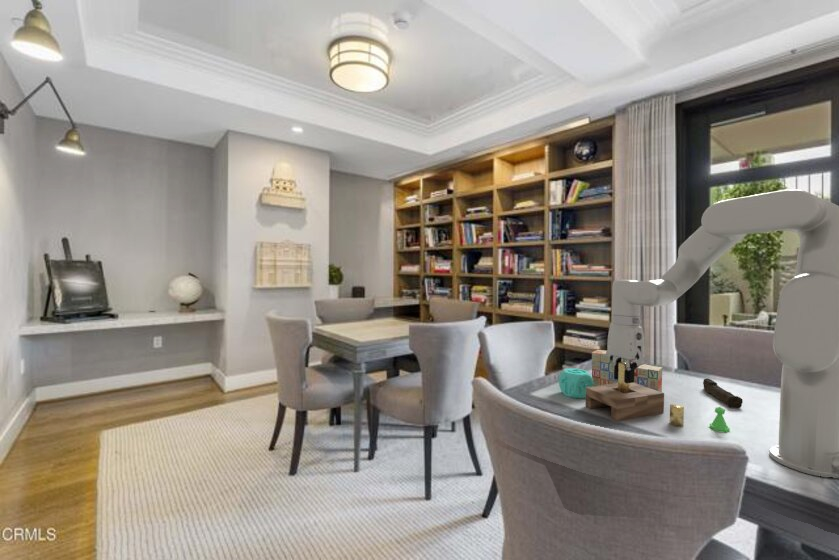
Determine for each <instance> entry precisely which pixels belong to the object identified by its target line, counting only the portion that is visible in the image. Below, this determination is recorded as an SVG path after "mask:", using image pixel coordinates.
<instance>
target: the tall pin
mask: <svg viewBox="0 0 839 560" xmlns="http://www.w3.org/2000/svg"><path fill="white" fill-rule="evenodd" d="M625 370H627V368H626V362H618V391H619V392H622V393H629V390H630V383H625V382H624V377H625Z"/></svg>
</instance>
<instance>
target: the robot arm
mask: <svg viewBox="0 0 839 560" xmlns="http://www.w3.org/2000/svg"><path fill="white" fill-rule="evenodd" d="M700 222H701V225H700V226H699V227H698V228H697V229H696V231H694V232H693V233H692V234H691V235H690V236H689V237H688V238H687V239H686V240H685V241H684V242H682V243H681V244H680V245H679V247H678V253H677V259H676V261H675V262H674V264H673V265H672V266H671V267H670V268H669V269H668V270H667V271H666V272H665V273H664V274H663V275H662V276H661V277H659V278H658V279H651V280H650V279H649V280H640V281H638V280H636V279H616V280H614V281H613V283H612V286H611V287H612V292H611V296H612V297H611V322H610V324H609V327H608V335H607V343H606V344H607V349H606V350H605V351H606V355H607V356H608V357H609V358H610V359H611V361H612V365H613V366H614V379H618V362H622V361H623V359H626V368H627V370H625V377H624V382H625V383H633V382H634V371H635V370H636V369H637V367H639V366H640V365H643V364H644V365H646V361H645V358H646V347H645V346H646V345H645V344H646V343H645V335H644V330H643V327H642V326H640V325H641V324H642V323H643V319H641V307H647V308H655V307H660V306H665V305H669V304H671V303H674V302H675V301H676V300H678V299H679V298H680V297H681V296H683V294H685V293H686V292H687V291H688V290H689V289H690V288H692V287H693V286H694V284H696V283H697V282H698V281H699V280H700V278H701V277H702V276H703V275H704V274H705V273H706V271H707V270H708V269H710V268H709V267H711V266H712V265H713V264H714V263H715V262H716V261H718V260H719V259H720V258H721V257H722V256H723V255H724V254H726V253H727V252H728V251H729V250H730V249H732V247H734V246H735V245H736V244H737V243H738V242H740V241H741V240H742V239H743V238H744V237H745V236H747V235H751V234H760V233H768V232H777V231H778V232H779V231H787V232H793V233H796V234H797V235H798V236H799V247H798V250H797V255H796V257H797V258H796V259H797V261H796V267H795V273H794V277H792V278H791V279H789V280H788V281H787V282H786V283H785V284H784V285H783V287H782V288H781V290H780V293H779V296H778V302H777V307H776V308H777V310H776V317H775V323H774V332H773V338H772V339H773V340H772V348H773V352H774V354H775V356H776V358H777V359H778V360H779V362H781V363H782V365H781V366H782V368H781V378H780V380H781V381H780V395H779V396H780V397H779V423H778V426H779V427H778V445H773V446H771V447H769V449H768V452H769V456H770V458H772V459H773V460H774V461H776V462H778V463H779V464H781V465H782V466H785V467H787V468H789V469H792V470H795V471H797V472H800V473H805V474H808V475H811V476H815V477H820V476H821V478H827V477H833V478H832V479H839V205H837V204H835V203H833V202H831V201H830V200H827V199H824V198H822V197H820V196H817V195H815V194H812V193H810V192H808V191H805V190H801V189H795V188H794V189H793V188H791V189H781V190H776V191H770V192H764V193H759V194H754V195H753V194H752V195H749V196H742V197H736V198H735V197H734V198H730V199H725V200H720V201H717V202H714V203H713V204H711V205H710V206H708V207H707V208H706V209H705V210H704V212H703V213H702V216H701V221H700ZM631 362H632V364H631Z"/></svg>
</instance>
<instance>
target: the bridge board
mask: <svg viewBox="0 0 839 560" xmlns="http://www.w3.org/2000/svg"><path fill="white" fill-rule="evenodd" d="M585 407H586V408H587V409H590V410H591V409H597V408H603V407H611V408H610V409H611V410H610V411H611V414H610V419H611V418H612V419H611V420H613V419H614V421H615V420H616V421H615V422H620V421H619V420H621V421H626V420H631V419H636V418H638V419H639V418H643V417H647V416H648V417H649V416H654V415H659V414H664V413H665V392H660V391H657V390H654V389H651V388H648V387H645V386H642V385H639V384H636V383H630V390H629V393H622V392H619V391H618V383H615V384H607V385H600V386H597V385H594V386H592V387H586V398H585Z"/></svg>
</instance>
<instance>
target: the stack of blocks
mask: <svg viewBox="0 0 839 560" xmlns="http://www.w3.org/2000/svg"><path fill="white" fill-rule="evenodd" d="M606 351H607V350H604V349H603V350H602V349H597V350H594V351H592V352H591V377H592V379H593V382H594V386H600V385H607V384H615V383H618V379H614V366H613V365H612V361H611V359H610V358H609V357H608V356H607V355H606ZM622 362H626V359H623V361H622ZM631 364H632V362H631ZM633 383H636V384H639V385H642V386H645V387H648V388H651V389H654V390H657V391H660V392H662V391H663V390H662V389H663V367H662V366H656V365H650V364H649V365H648V364H643V365H640V366H639V367H637V369H636V370H635V371H634V382H633Z"/></svg>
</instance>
